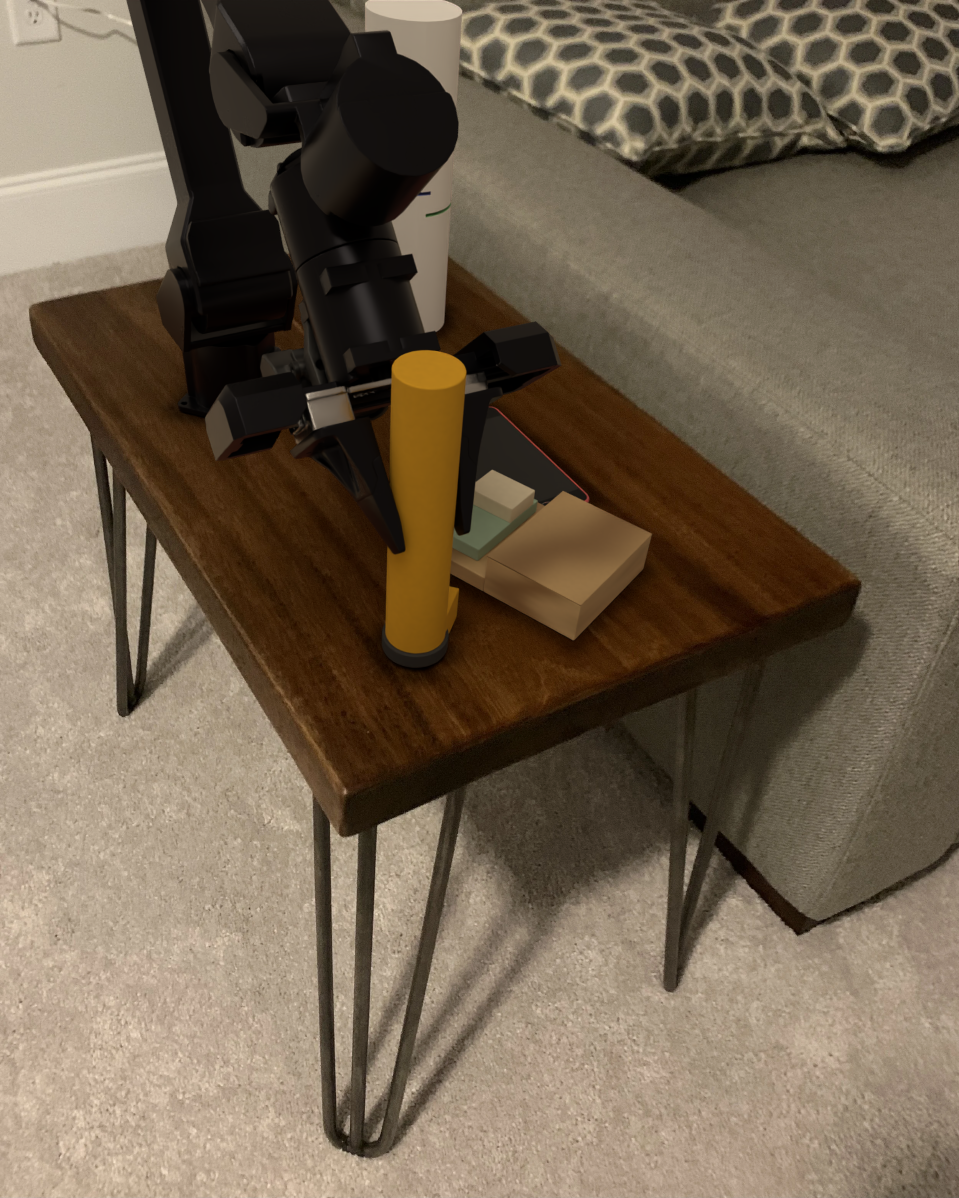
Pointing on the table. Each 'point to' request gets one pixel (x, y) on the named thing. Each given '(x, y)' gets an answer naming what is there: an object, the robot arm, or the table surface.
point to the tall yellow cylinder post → (423, 504)
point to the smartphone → (521, 460)
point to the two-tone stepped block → (495, 513)
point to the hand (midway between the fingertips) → (432, 543)
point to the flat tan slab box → (560, 564)
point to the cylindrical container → (432, 39)
